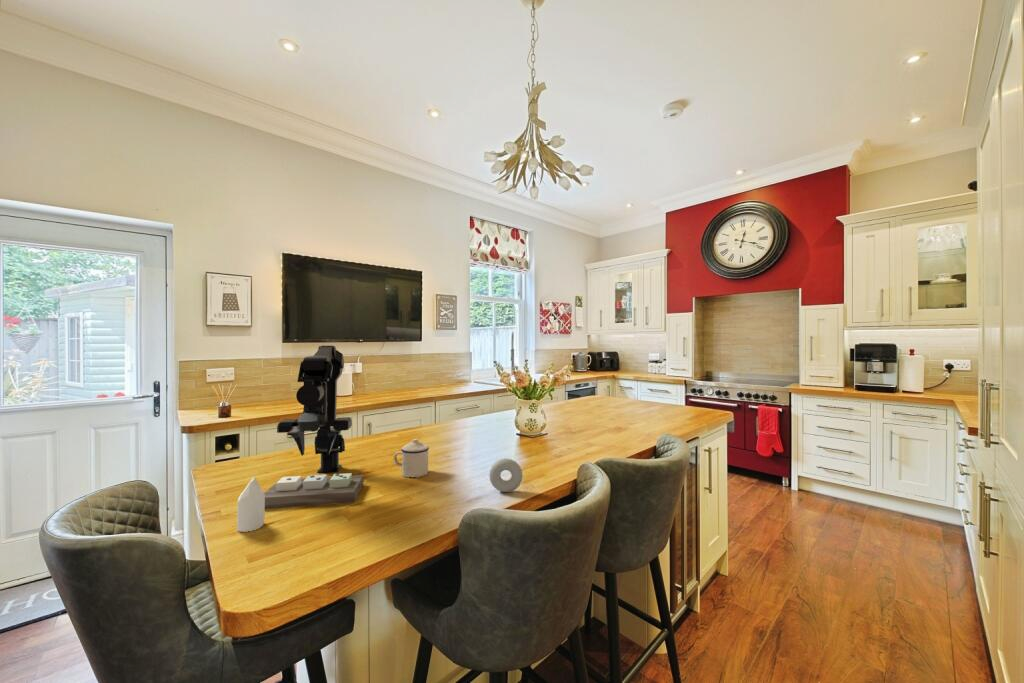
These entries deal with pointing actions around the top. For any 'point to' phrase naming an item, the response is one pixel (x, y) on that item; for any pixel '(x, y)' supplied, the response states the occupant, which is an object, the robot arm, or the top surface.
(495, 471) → the donut
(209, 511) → the top surface
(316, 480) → the tile two
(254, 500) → the white pointed wedge
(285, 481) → the tile one
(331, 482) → the tile three
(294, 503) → the grey tray with tiles
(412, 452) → the teacup with lid
